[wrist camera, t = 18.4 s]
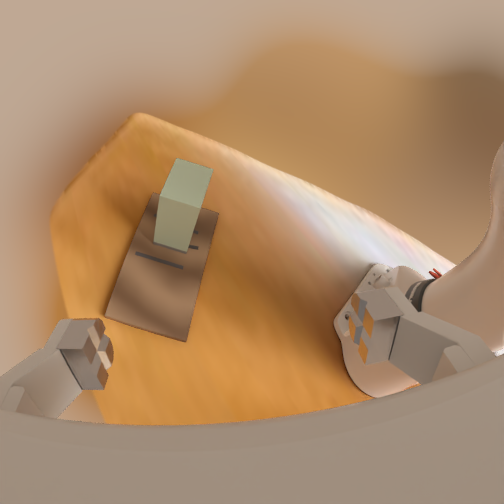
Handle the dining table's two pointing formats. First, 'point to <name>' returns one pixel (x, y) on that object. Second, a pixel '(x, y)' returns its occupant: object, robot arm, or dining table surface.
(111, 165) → the dining table surface
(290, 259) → the dining table surface
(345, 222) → the dining table surface
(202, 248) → the board
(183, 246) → the green block
